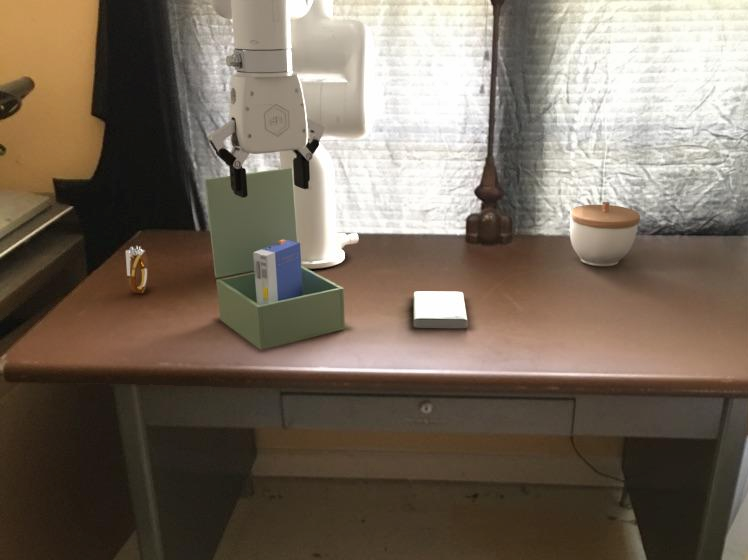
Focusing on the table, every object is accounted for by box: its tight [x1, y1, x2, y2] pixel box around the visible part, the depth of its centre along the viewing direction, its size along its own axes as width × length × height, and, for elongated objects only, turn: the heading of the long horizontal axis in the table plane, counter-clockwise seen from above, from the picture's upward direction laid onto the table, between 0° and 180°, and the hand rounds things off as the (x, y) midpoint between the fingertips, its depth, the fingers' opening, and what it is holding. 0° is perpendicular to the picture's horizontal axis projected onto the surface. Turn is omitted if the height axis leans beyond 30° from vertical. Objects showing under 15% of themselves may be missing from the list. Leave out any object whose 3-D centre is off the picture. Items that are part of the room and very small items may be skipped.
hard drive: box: [413, 290, 468, 329], centre depth 135 cm, size 2×8×12 cm
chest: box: [215, 266, 346, 351], centre depth 129 cm, size 14×14×7 cm
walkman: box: [253, 239, 303, 305], centre depth 128 cm, size 8×3×12 cm, turn 147°
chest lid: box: [203, 168, 297, 279], centre depth 129 cm, size 15×14×1 cm
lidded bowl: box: [569, 201, 641, 267], centre depth 158 cm, size 13×13×11 cm
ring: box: [125, 245, 150, 294], centre depth 141 cm, size 7×3×8 cm, turn 172°
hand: (271, 191), depth 121 cm, fingers open, 9 cm apart
